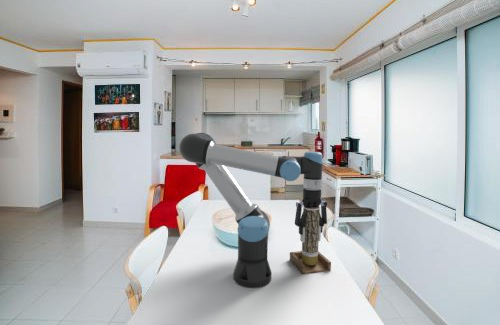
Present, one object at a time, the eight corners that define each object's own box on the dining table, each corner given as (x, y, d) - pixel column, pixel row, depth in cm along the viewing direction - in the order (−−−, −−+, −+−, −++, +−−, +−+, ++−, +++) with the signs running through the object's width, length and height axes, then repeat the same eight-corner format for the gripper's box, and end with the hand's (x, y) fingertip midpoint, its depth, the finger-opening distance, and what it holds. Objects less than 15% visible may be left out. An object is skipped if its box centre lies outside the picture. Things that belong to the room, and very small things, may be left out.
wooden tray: (302, 274, 116) (302, 265, 116) (289, 259, 128) (290, 252, 128) (330, 270, 119) (331, 262, 119) (315, 256, 132) (316, 249, 131)
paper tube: (317, 267, 120) (320, 209, 117) (301, 265, 121) (303, 208, 118) (317, 259, 126) (319, 205, 123) (301, 258, 128) (303, 204, 125)
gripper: (294, 191, 114) (292, 246, 116) (337, 189, 119) (335, 241, 121) (287, 187, 121) (285, 239, 124) (328, 185, 126) (326, 235, 129)
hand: (310, 240), depth 123 cm, fingers closed on paper tube, 7 cm apart
